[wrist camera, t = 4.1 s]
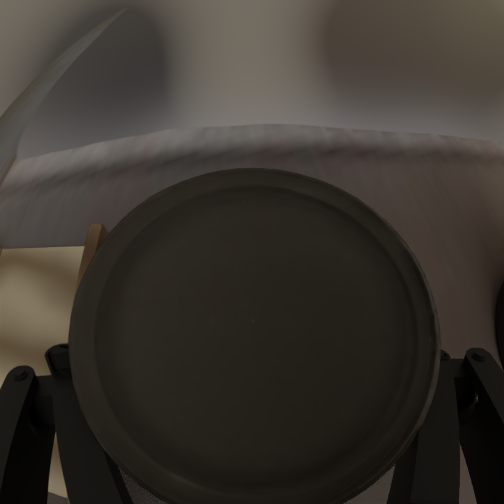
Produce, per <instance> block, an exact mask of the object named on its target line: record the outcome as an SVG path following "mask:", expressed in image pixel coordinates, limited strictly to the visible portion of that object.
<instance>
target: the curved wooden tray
mask: <svg viewBox="0 0 504 504" xmlns="http://www.w3.org/2000/svg"><path fill="white" fill-rule="evenodd" d="M107 235H108V232H107V231H106V229H105V227H104V226H103V224H90V227H89V231H88V235H87V239H86V243H85V246H75V247H46V248H19V249H2V248H1V247H0V388H1V386H2V384H3V382H4V380H5V378H6V376H7V374H8V373H9V371H10V370H12V369H13V368H14V367H17V366H22V365H27V366H30V367H32V368H33V369H34V371H35V374H36V376H43V375H51V373H50V370H49V367H48V365H47V362H46V359H45V356H44V355H45V352H46V351H47V350H48V349H49V348H51V347H52V346H54V345H58V344H63V343H67V344H69V326H70V317H71V311H72V307H73V303H74V298H75V295H76V292H77V289H78V286H79V283H80V281H81V279H82V277H83V274H84V272H85V270H86V268H87V267H88V265H89V263H90V261H91V259H92V257H93V256H94V254H95V253H96V251H97V250H98V248H99V247H100V245H101V243H102V242H103V241H104V240H105V238H106V237H107ZM48 492H51V493H53V494H56V495H59V496H62V497H65V498H67V500H68V504H70V502H69V499H68V495H67V490H66V486H65V482H64V477H63V472H62V467H61V462H60V456H59V450H58V444H57V437H56V433H55V439H54V445H53V452H52V459H51V467H50V475H49V485H48Z"/></svg>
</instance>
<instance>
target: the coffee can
mask: <svg viewBox="0 0 504 504" xmlns="http://www.w3.org/2000/svg"><path fill="white" fill-rule="evenodd" d="M440 353H441V342H440V327H439V320H438V314H437V309H436V305H435V302H434V299H433V295H432V292H431V289H430V287H429V284H428V281H427V279H426V276H425V274H424V272H423V270H422V268H421V266H420V264H419V262H418V260H417V259H416V257H415V255H414V254H413V253H412V251H411V250H410V248H409V246H408V245H407V244H406V242H405V241H404V240H403V239H402V238H401V236H400V235H399V234H398V233H397V232H396V231H395V229H394V228H393V227H392V226H391V225H390V224H389V223H388V222H387V221H386V220H385V219H383V218H382V217H381V216H380V215H379V214H378V213H377V212H375V211H374V210H373V209H372V208H370V207H369V206H368V205H366V204H365V203H363V202H362V201H361V200H359V199H357V198H356V197H354V196H352V195H351V194H349V193H347V192H345V191H343V190H341V189H339V188H337V187H335V186H333V185H330V184H328V183H326V182H324V181H321V180H318V179H315V178H311V177H308V176H304V175H301V174H297V173H293V172H288V171H282V170H277V169H265V168H237V169H229V170H222V171H216V172H212V173H208V174H204V175H200V176H197V177H194V178H191V179H188V180H185V181H182V182H180V183H177V184H175V185H173V186H171V187H168V188H166V189H164V190H162V191H161V192H159V193H157V194H155V195H153V196H151V197H150V198H148V199H147V200H146V201H144V202H143V203H141V204H140V205H138V206H137V207H136V208H134V209H133V210H132V211H131V212H130V213H128V215H127V216H126V217H124V218H123V219H122V220H121V221H120V222H119V224H118V225H117V226H116V227H115V228H114V229H113V230H112V231H111V232H110V233H109V234H108V235H107V237H106V238H105V240H104V241H103V242H102V243H101V245H100V247H99V248H98V250H97V251H96V253H95V254H94V256H93V257H92V259H91V261H90V263H89V265H88V267H87V268H86V270H85V272H84V274H83V277H82V279H81V281H80V283H79V286H78V289H77V292H76V295H75V298H74V303H73V307H72V311H71V317H70V326H69V359H70V367H71V373H72V380H73V385H74V388H75V391H76V394H77V397H78V401H79V404H80V408H81V410H82V412H83V414H84V416H85V418H86V420H87V423H88V425H89V426H90V428H91V430H92V431H93V433H94V435H95V437H96V438H97V440H98V441H99V443H100V444H101V446H102V447H103V449H104V450H105V451H106V452H107V454H108V455H109V456H110V457H111V459H112V460H113V461H114V462H115V463H116V464H117V465H118V466H119V467H120V468H121V469H122V470H123V471H124V472H125V473H126V474H127V475H128V476H130V477H131V478H132V479H133V480H134V481H135V482H137V483H138V484H139V485H140V486H141V487H143V488H144V489H146V490H147V491H149V492H150V493H151V494H153V495H154V496H156V497H157V498H159V499H161V500H163V501H165V502H167V503H169V504H343V503H345V502H347V501H348V500H350V499H352V498H354V497H355V496H357V495H358V494H360V493H361V492H363V491H364V490H366V489H367V488H369V487H370V486H372V485H373V484H374V483H375V482H376V481H377V480H379V479H380V478H381V477H382V476H383V475H384V474H385V473H386V472H387V471H389V470H390V469H391V468H392V467H393V466H394V464H395V463H396V462H397V461H398V460H399V459H400V457H401V456H402V455H403V454H404V453H405V451H406V450H407V449H408V447H409V446H410V444H411V443H412V441H413V440H414V438H415V436H416V435H417V433H418V430H419V427H420V426H422V424H423V422H424V420H425V417H426V415H427V412H428V410H429V408H430V405H431V402H432V399H433V396H434V393H435V390H436V385H437V380H438V374H439V366H440Z"/></svg>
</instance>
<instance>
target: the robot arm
mask: <svg viewBox="0 0 504 504" xmlns="http://www.w3.org/2000/svg"><path fill="white" fill-rule="evenodd" d="M496 329H497V339H498V346H499V351H500V355H501V359H502V363H503V366H504V283H503V285H502V287H501V290H500V293H499V297H498V302H497V310H496ZM44 356H45V359H46V362H47V365H48V367H49V370H50V373H51V375H43V376H36V374H35V371H34V369H33V368H32V367H30V366H27V365H22V366H17V367H14V368H13V369H12V370H10V371H9V373H8V374H7V376H6V378H5V380H4V382H3V384H2V386H1V388H0V504H47V497H48V485H49V475H50V467H51V459H52V452H53V445H54V439H55V433H56V437H57V444H58V450H59V456H60V462H61V467H62V472H63V477H64V482H65V486H66V490H67V495H68V499H69V502H70V504H133V502H132V499H131V497H130V495H129V493H128V490H127V488H126V486H125V483H124V481H123V478H122V476H121V473H120V471H119V468H118V466H117V464H116V463H115V462H114V461H113V460H112V459H111V457H110V456H109V455H108V454H107V452H106V451H105V450H104V449H103V447H102V446H101V444H100V443H99V441H98V440H97V438H96V437H95V435H94V433H93V431H92V430H91V428H90V426H89V425H88V423H87V420H86V418H85V416H84V414H83V412H82V410H81V408H80V404H79V401H78V397H77V394H76V391H75V388H74V385H73V380H72V373H71V367H70V359H69V344H67V343H63V344H58V345H54V346H52V347H51V348H49V349H48V350H47V351H46V352H45V355H44ZM477 395H478V401H477V399H476V397H477ZM459 441H460V443H459ZM460 444H461V447H462V450H463V454H464V457H465V460H466V464H467V467H468V470H469V474H470V478H471V481H472V485H473V489H474V493H475V497H476V501H477V504H504V373H503V372H502V370H501V369H500V367H499V366H498V364H497V363H496V361H495V360H494V358H493V357H492V356H491V354H490V353H489V352H487V351H485V350H484V349H481V348H471V349H469V350H467V352H466V354H465V357H464V359H451V358H450V356H449V354H448V353H446V352H445V351H443V350H441V353H440V366H439V374H438V380H437V385H436V390H435V393H434V396H433V399H432V402H431V405H430V408H429V410H428V412H427V415H426V417H425V420H424V422H423V424H422V426H420V427H419V430H418V433H417V435H416V436H415V438H414V440H413V441H412V443H411V444H410V446H409V447H408V449H407V450H406V451H405V453H404V454H403V455H402V456H401V457H400V459H399V460H398V461H397V462H396V464H395V469H394V474H393V479H392V483H391V488H390V492H389V496H388V500H387V504H459V485H460Z"/></svg>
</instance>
